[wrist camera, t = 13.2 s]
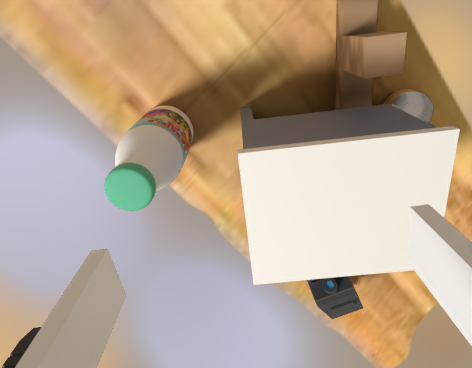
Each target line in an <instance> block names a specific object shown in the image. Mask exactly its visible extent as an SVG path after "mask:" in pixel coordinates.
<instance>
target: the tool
mask: <svg viewBox="0 0 472 368" xmlns="http://www.w3.org/2000/svg"><path fill="white" fill-rule="evenodd" d="M307 281H308V284H309V286H310V289H311V292H312V294H313V297H314V299H315V302H316V304H317V306H318V307H319V308H320V309H321V310H322V311H323V312H325V313H326V314H327V315H328V316H329V317H330V318H332V319H334V318H337V317H340V316H342V315H345V314H348V313H351V312H354V311H357V310H359V309H362V308H363V306H362V304H361V301H360V299H359V297H358V295H357V293H356V291H355V288H354V286H353V284H352V282H351V281H350V279H349V276H344V277H333V278H323V279H312V280H307Z"/></svg>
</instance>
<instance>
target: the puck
mask: <svg viewBox="0 0 472 368" xmlns="http://www.w3.org/2000/svg"><path fill="white" fill-rule="evenodd" d="M383 104H390V105H392V106H394V107H396V108H398V109H400V110H402V111H404V112H406V113H408V114H410V115H412V116H415V117H417V118H419V119H421V120H423V121H425V122H427V123H429V121H430V119H431V117H432V114H433V104H432V101H431V100H430V98H429V97H428V96H427V95H425V94H423V93H421V92H418V91H415V90H412V89H400V90H397V91H395V92H393V93H392V94H390V95H389V96H388V97H387V98H386V99H385V101H384V103H383ZM383 104H382V105H383Z"/></svg>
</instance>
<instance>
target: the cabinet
mask: <svg viewBox="0 0 472 368" xmlns="http://www.w3.org/2000/svg"><path fill="white" fill-rule="evenodd" d="M241 122H242V136H243V149H241V150H238V160H239V168H240V176H241V184H242V193H243V201H244V209H245V217H246V226H247V234H248V242H249V250H250V259H251V267H252V275H253V283H254V285H257V284H268V283H279V282H290V281H301V280H312V279H323V278H333V277H344V276H355V275H366V274H377V273H388V272H399V271H410V270H414V269H413V268H412V267H411V265H410V264H409V263H408V261H407V260H406V254H407V240H408V226H409V213H410V207H411V206H419V205H426V204H429V205H430V206H431V207H432V208H434V209H435V210H436V211H437V212H438V213H439V214H440V215H442V216H443V217H444V215H445V209H446V204H447V198H448V193H449V187H450V182H451V176H452V171H453V165H454V160H455V154H456V148H457V143H458V137H459V132H460V129H459V128H457V127H454V126H447V127H438V128H437V127H435V126H433V125H431V124H429V123H427V122H425V121H423V120H421V119H419V118H417V117H415V116H412V115H410V114H408V113H406V112H404V111H402V110H400V109H398V108H396V107H394V106H392V105H390V104H383V105H375V106H366V107H357V108H349V109H340V110H331V111H323V112H314V113H305V114H297V115H288V116H279V117H271V118H262V119H253V115H252V110H251V107H249V108H241Z"/></svg>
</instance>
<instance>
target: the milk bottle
mask: <svg viewBox="0 0 472 368" xmlns="http://www.w3.org/2000/svg"><path fill="white" fill-rule="evenodd" d="M192 140H193V126H192V123H191V121H190V119H189V118H188V117H187V115H186V114H185V113H184V112H182V111H181V110H179V109H178V108H175V107H172V106H167V105H163V106H158V107H155V108H153V109H151V110H150V111H148V112H147V113H146V114H145V115H144V116H143V117H142V118H141V119H140V120H139V121H138V122H136V123H135V124H134V125H133V126H132V127H131V128H130V129H129V131H128V132H127V133H126V134H125V135H124V136H123V138H122V139H121V141H120V143H119V144H118V147H117V150H116V155H115V164H116V166H115V167H114V169H113V170H112V171H111V172H110V173H109V175H108V176H107V178H106V180H105V186H104V187H105V193H106V196H107V197H108V199H109V200H110V202H111V203H113V204H114V205H115V206H117V207H118V208H120V209H123V210H126V211H137V210H140V209H143V208H144V207H146V206H147V205H148V204H149V203H150V202H151V201H152V199H153V197H154V195H155V193H156V191H157V190H160V189H162V188H164V187H166V186H168V185H169V184H170V183H171V182H172V181H173V180H174V179H175V178H176V177H177V175H178V174H179V172H180V170H181V168H182V166H183V164H184V161H185V159H186V156H187V154H188V151H189V149H190V146H191V143H192Z"/></svg>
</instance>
